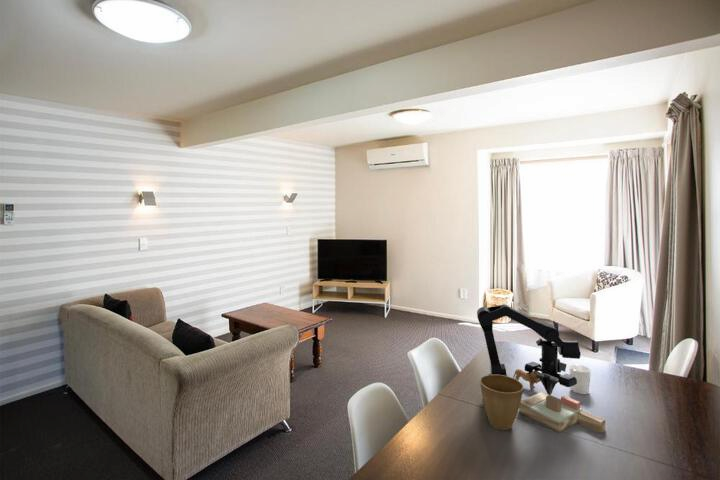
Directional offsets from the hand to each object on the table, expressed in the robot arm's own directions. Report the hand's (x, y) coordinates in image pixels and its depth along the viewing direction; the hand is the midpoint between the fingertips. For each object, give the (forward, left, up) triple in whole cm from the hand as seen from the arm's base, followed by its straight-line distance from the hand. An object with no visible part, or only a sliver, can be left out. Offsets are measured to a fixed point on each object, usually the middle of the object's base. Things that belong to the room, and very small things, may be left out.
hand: (549, 394), depth 143 cm
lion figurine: (+9, +16, -6) cm, 19 cm away
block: (0, -8, -1) cm, 8 cm away
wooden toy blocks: (-6, -8, -5) cm, 11 cm away
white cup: (+24, +1, -6) cm, 25 cm away
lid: (-6, -6, -2) cm, 9 cm away
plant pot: (-26, +2, -6) cm, 27 cm away
